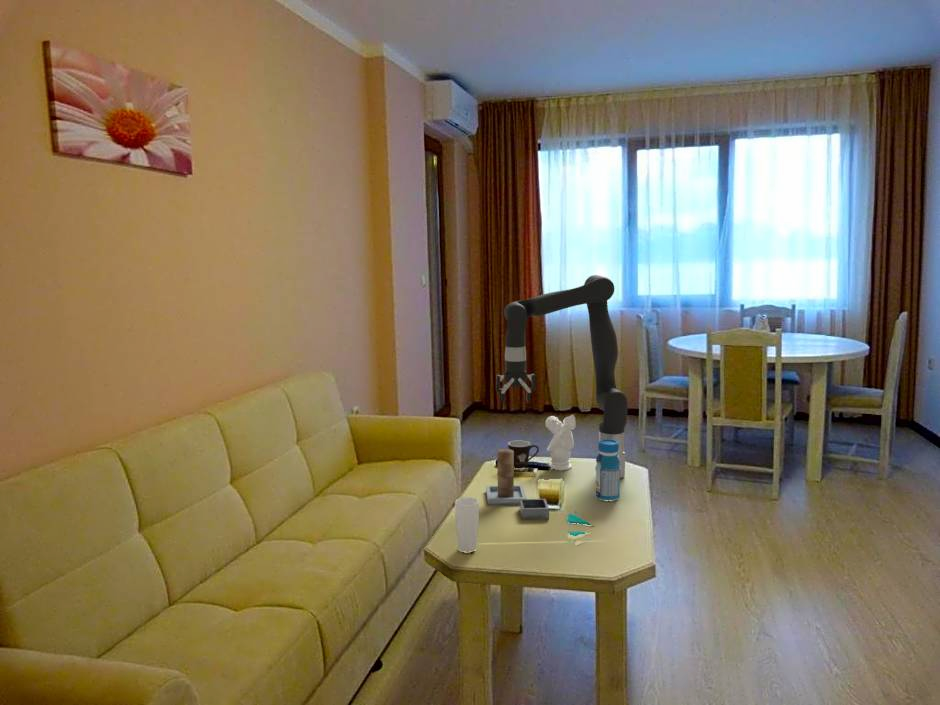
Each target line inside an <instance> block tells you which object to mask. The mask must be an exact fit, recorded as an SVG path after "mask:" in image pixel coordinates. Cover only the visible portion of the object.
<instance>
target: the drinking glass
mask: <svg viewBox="0 0 940 705" xmlns="http://www.w3.org/2000/svg"><path fill="white" fill-rule="evenodd" d="M454 504H455V505H454V515H455V516H454V517H455V525H456V526H455V527H456V534H457V543H458V544H457V546H458V547H457V548H459V549H460V550H461V551H466V552H469V551H473V550H475V549H476V548H477V549H478V530H479V528H478V527H479V516H480V513H479V512H480V509H479V508H480V507H479V500H478V498H476V497H472V496H463V497H459V498H457V499H456V500H455V501H454ZM459 549H458V550H459ZM477 549H476V550H477Z"/></svg>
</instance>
